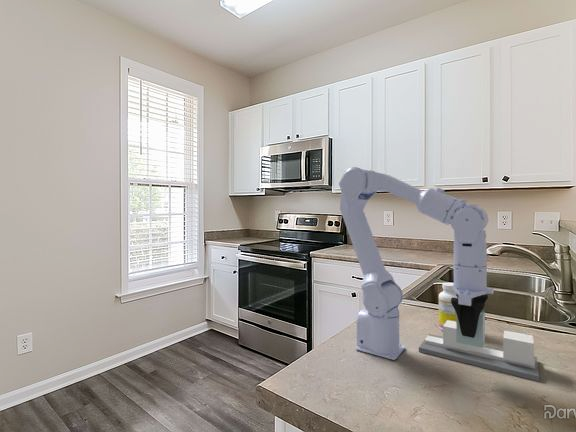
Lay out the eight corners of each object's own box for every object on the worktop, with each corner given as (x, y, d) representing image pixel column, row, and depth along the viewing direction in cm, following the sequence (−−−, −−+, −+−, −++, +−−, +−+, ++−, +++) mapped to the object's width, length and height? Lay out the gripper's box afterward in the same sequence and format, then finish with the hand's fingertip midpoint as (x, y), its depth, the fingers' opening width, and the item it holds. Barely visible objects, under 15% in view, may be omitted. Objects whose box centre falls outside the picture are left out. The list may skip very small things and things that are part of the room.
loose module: (456, 342, 62) (456, 312, 62) (459, 335, 65) (459, 307, 65) (483, 348, 59) (482, 316, 59) (484, 341, 62) (484, 311, 62)
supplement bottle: (457, 325, 89) (456, 281, 89) (471, 335, 83) (471, 286, 82) (434, 326, 89) (434, 281, 89) (446, 335, 82) (446, 287, 82)
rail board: (418, 351, 73) (418, 325, 73) (428, 337, 81) (428, 313, 81) (539, 381, 60) (539, 349, 60) (536, 361, 68) (536, 332, 68)
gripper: (490, 273, 54) (490, 350, 54) (496, 261, 66) (496, 325, 66) (445, 268, 58) (446, 340, 58) (458, 259, 70) (458, 319, 70)
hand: (469, 332), depth 62 cm, fingers closed on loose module, 4 cm apart
